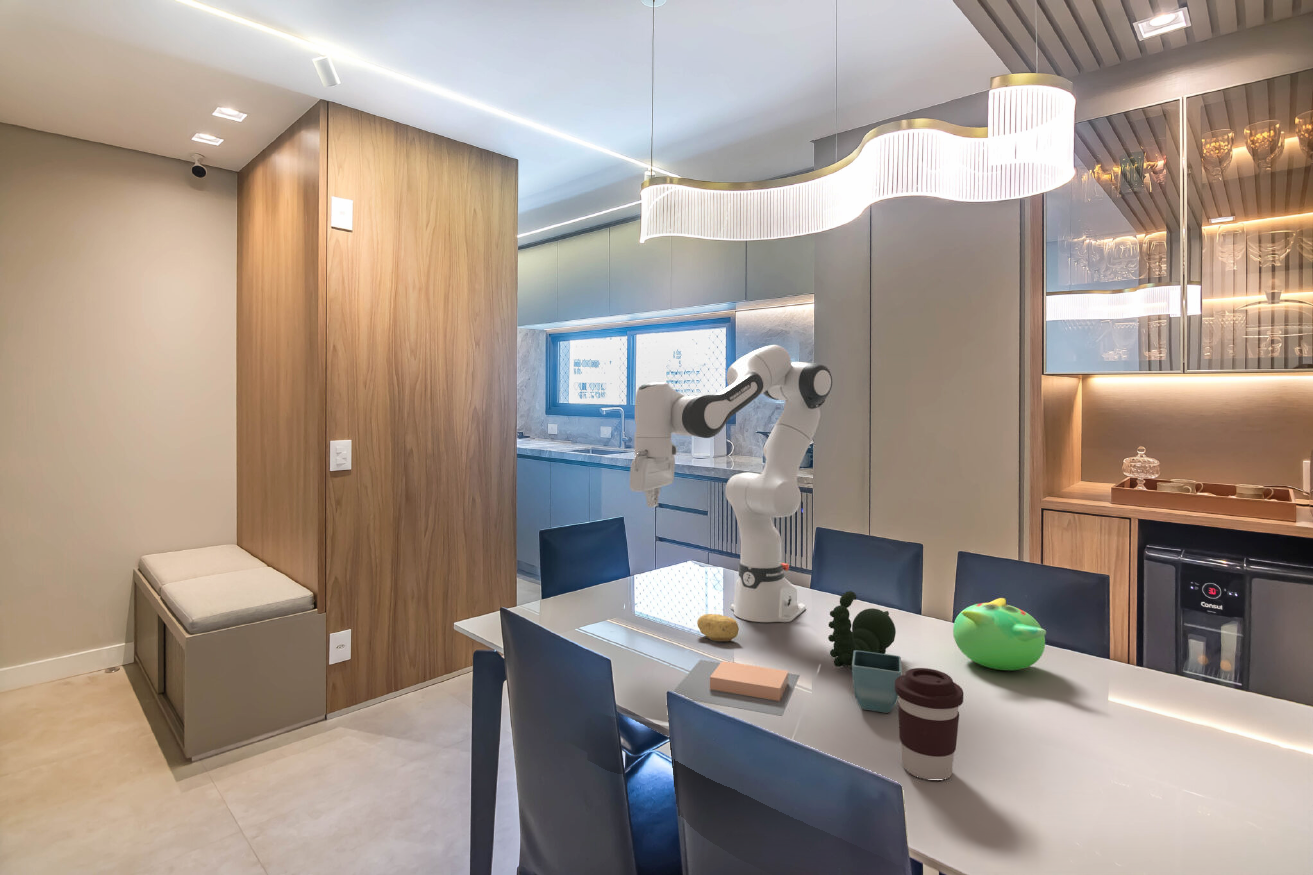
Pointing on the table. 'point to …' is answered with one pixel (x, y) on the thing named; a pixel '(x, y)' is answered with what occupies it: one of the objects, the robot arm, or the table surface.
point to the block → (749, 680)
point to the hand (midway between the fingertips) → (652, 506)
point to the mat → (699, 690)
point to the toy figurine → (859, 631)
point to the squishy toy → (999, 636)
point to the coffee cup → (928, 721)
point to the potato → (718, 627)
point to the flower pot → (875, 680)
